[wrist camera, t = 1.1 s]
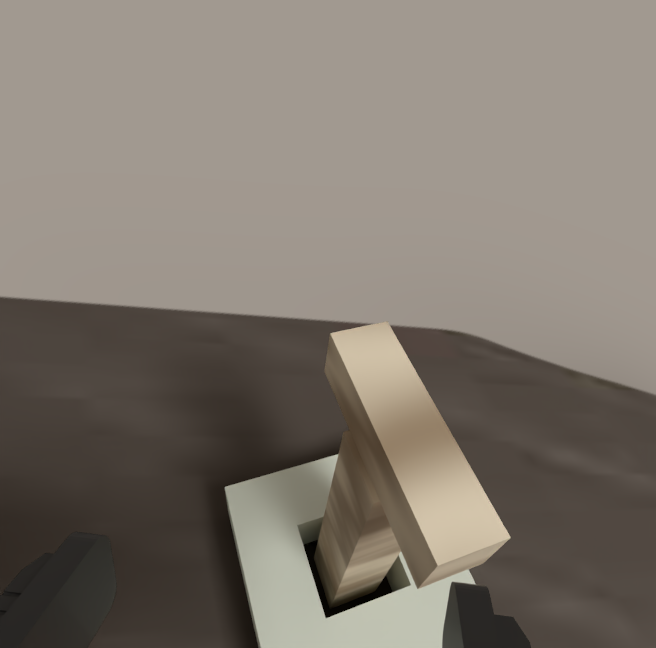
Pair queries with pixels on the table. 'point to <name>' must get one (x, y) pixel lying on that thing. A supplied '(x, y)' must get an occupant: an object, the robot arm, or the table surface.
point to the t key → (395, 477)
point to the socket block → (297, 580)
